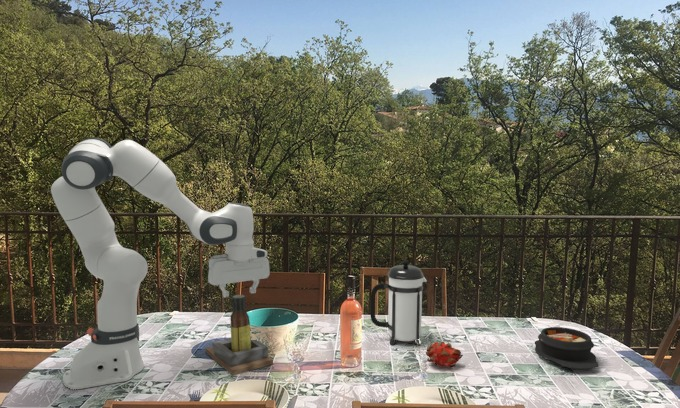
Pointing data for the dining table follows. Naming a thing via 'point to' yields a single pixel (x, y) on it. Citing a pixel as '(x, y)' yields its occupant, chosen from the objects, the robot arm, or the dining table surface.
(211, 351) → the board
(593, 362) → the casserole
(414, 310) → the coffee press
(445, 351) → the dragon fruit
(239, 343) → the sauce bottle
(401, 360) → the dining table surface
